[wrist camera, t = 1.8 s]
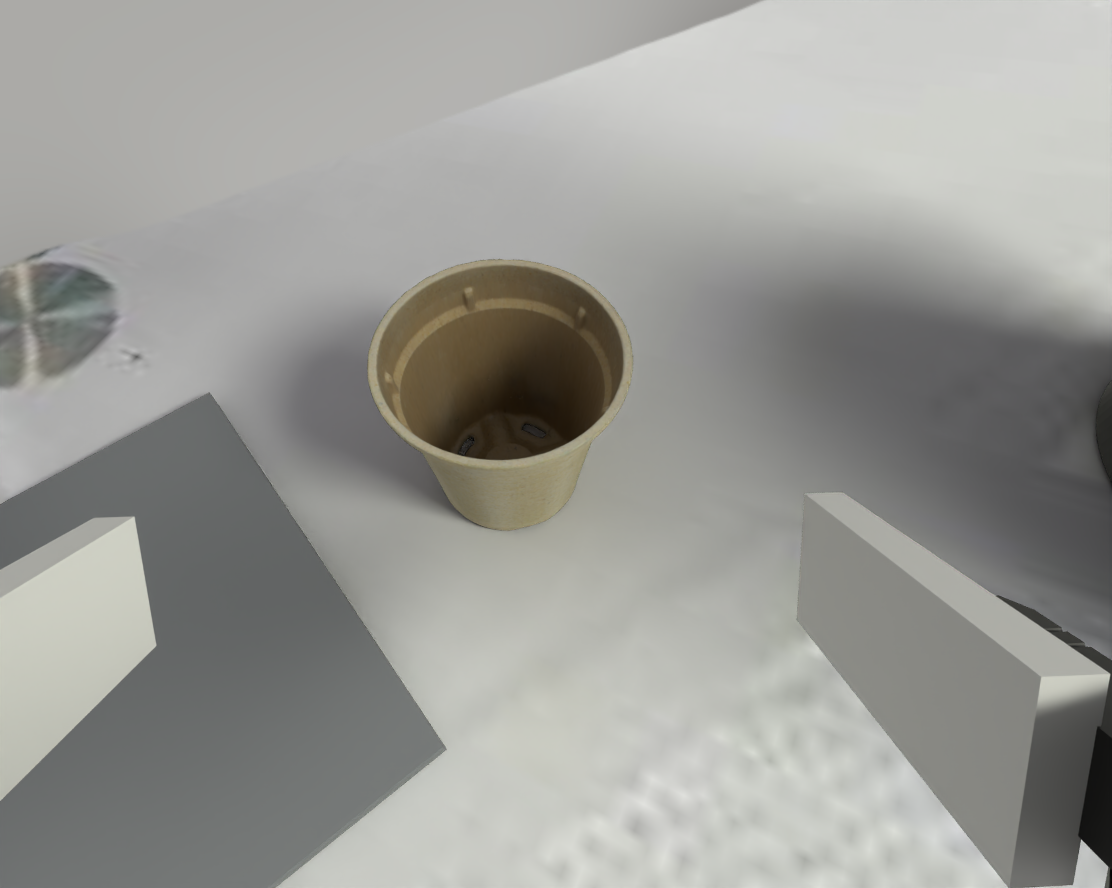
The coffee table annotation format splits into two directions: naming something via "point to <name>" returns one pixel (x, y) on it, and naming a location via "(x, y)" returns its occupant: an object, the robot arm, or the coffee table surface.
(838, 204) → the coffee table surface
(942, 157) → the coffee table surface
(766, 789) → the coffee table surface
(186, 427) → the charcoal mat
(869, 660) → the robot arm
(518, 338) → the flower pot
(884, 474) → the coffee table surface
